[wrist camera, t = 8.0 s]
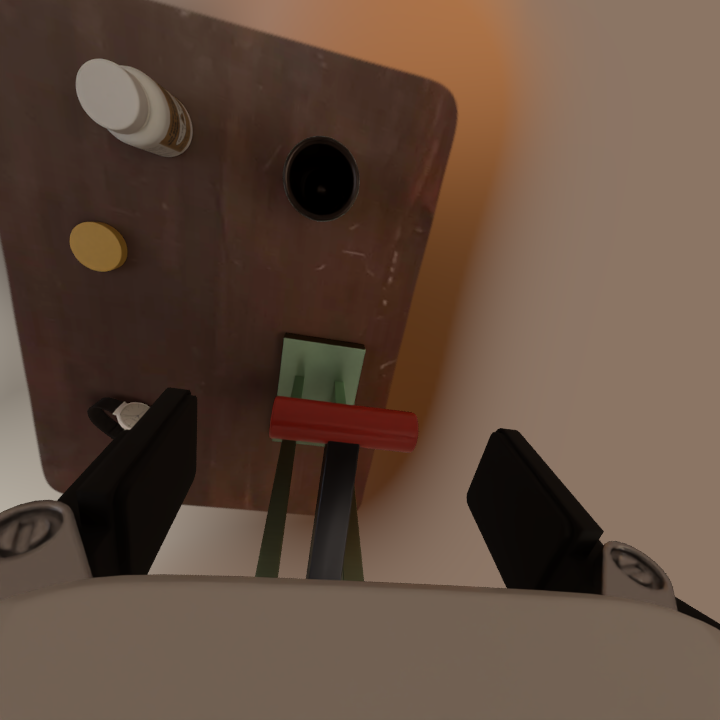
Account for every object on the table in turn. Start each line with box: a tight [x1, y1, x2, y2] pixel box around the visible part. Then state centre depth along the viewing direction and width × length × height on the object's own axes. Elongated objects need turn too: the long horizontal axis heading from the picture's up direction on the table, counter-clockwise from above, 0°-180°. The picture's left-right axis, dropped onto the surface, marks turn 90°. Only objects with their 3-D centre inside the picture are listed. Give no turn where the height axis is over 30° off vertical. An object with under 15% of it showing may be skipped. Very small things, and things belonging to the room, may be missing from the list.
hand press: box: [255, 333, 365, 581], centre depth 24 cm, size 12×8×30 cm, turn 169°
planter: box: [283, 136, 360, 222], centre depth 25 cm, size 4×4×10 cm
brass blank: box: [70, 222, 127, 272], centre depth 30 cm, size 4×4×1 cm
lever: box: [269, 396, 418, 580], centre depth 12 cm, size 14×5×2 cm, turn 169°
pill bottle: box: [76, 59, 193, 157], centre depth 24 cm, size 4×4×8 cm
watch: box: [87, 398, 150, 439], centre depth 35 cm, size 8×5×4 cm, turn 48°
